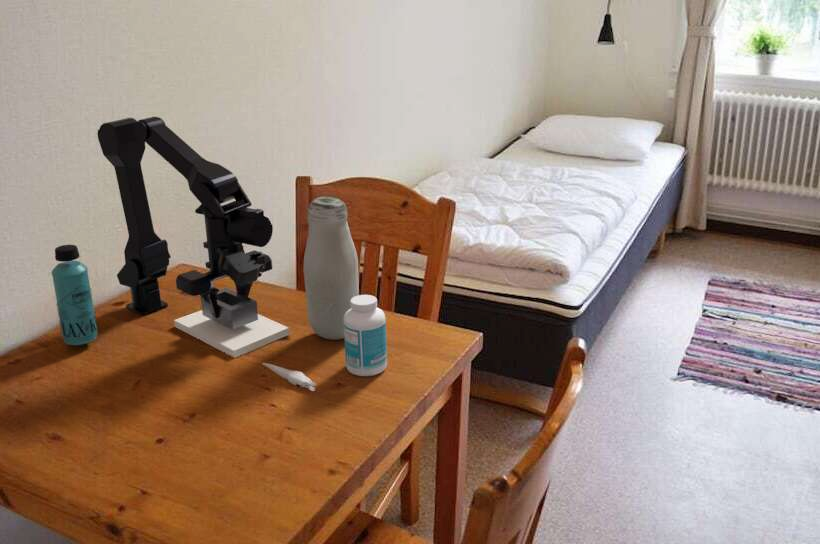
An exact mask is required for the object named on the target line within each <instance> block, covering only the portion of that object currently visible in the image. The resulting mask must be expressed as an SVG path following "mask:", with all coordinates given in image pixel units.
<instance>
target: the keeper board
mask: <svg viewBox="0 0 820 544" xmlns="http://www.w3.org/2000/svg"><path fill="white" fill-rule="evenodd" d="M173 321H174V327H175V328H176V329H179V330H180V331H182V332H184V333H186V334H188V335H190V336H192V337H194V338H195V337H196V339H198V340H199V339H200V341H201V340H202V341H201V342H204V343H205V344H207V345H209V346H210V347H213V348H215V349H217V350H219V351H221V352H223V353H224V352H225V354H226V355H228V356H230V357H233V358H234V359H235V358H238V357H241V356H244V355H245V354H247V353H249V352H252V351H255V350H257V349H259V348H261V347H264V346H266V345H269V344H271V343H273V342H276V341H277V340H280V339H282V338H285V337H287V336H289V335H290V328H289V326H286V325H284V324H281V323H279V322H276V321H275V320H272V319H270V318H267V317H266V316H263V315H262V314H259V313H258V320H256V321H254V322H251V323H249V324H246V325H244V326H241V327H239V328H236V329H234V330H232V329H230V328H228V327H226V326H224V325H222V324H220V323H218V322H216V321H214V320H212V319H210V318H208V317H206V316H204V315H203V314H202V309H201V310H198V311H195V312H192V313H190V314H187V315H184V316H182V317H179V318H176V319H174V320H173ZM240 355H241V356H240Z"/></svg>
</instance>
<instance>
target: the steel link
mask: <svg viewBox="0 0 820 544" xmlns="http://www.w3.org/2000/svg"><path fill="white" fill-rule="evenodd" d="M216 297H217V305H218V318H214V317H213V315H212V314H211V312H210V310H209V309H208V307H207V305H206V304H205V302H204V301H203V299H202V298H201V297H200V304H201V305H200V306H201V310H202V314H203V315H204V316H206V317H208V318H210V319H212V320H214V321H216V322H218V323H220V324H222V325H224V326H226V327H228V328H230V329H232V330H234V329H236V328H239V327H241V326H244V325H246V324H249V323H251V322H254V321H256V320H258V314H259V312H258V304H257V303H258V301H257V300H255V299H253V298H250V297H249V296H248V297H246V296H244V295H241V294H239V293H237V291H235V290H232V289H231V288H230V289H229V288H228V287H224V288H221V289H219V291H218V293H217V295H216Z"/></svg>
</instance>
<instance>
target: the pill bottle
mask: <svg viewBox="0 0 820 544" xmlns="http://www.w3.org/2000/svg"><path fill="white" fill-rule="evenodd" d="M350 304H351V309H349V310H348V311H347V312H346V313H345V315H344V338H343V339H344V353H345V366H346V369H347V371H348V372H349V373H350V374H352V375H355V376H357V377H372V376H373V377H374V376H376V375H379V374H381V373H382V372H384V371H385V370H386V369H387V365H388V358H387V357H388V351H387V350H388V347H387V326H386V325H387V324H386V323H387V321H386V320H387V319H386V314H385V312H384V311H383V309H381V308H379V307H378V299H377V297H376V296H374V295H370V294H359V295H358V296H355V297H353V298H352V299H351V300H350Z"/></svg>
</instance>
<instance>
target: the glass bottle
mask: <svg viewBox="0 0 820 544" xmlns="http://www.w3.org/2000/svg"><path fill="white" fill-rule="evenodd" d="M307 209H308V210H307V217H306V218H307V222H308V233H307V239H306V245H305V249H304V256H303V278H304V287H305V288H304V289H305V297H306V313H307V318H308V323H309V326H310V328H311V330H312V331H313V332H314V333H315V334H316V335H317V336H319V337H322V338H323V339H325V340H332V341H333V340H337V341H338V340H342V339H344V315H345V313H346V312H347V311H348V310H349V309H351V304H350V300H351V299H352V298H353V297H355V296H358V295H360V289H359V286H360V283H359V259H358V254H357V249H356V247H355V243H354V240H353V238H352V235H351V231H350V228H349V223H348V209H347V205H346V203H345V202H344V201H343V200H341V199H339V198H337V197H334V196H319V197H317V198H316V197H315V198H314V199H313V200H312V201H311V202H310V204H309V206H308V208H307Z"/></svg>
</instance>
